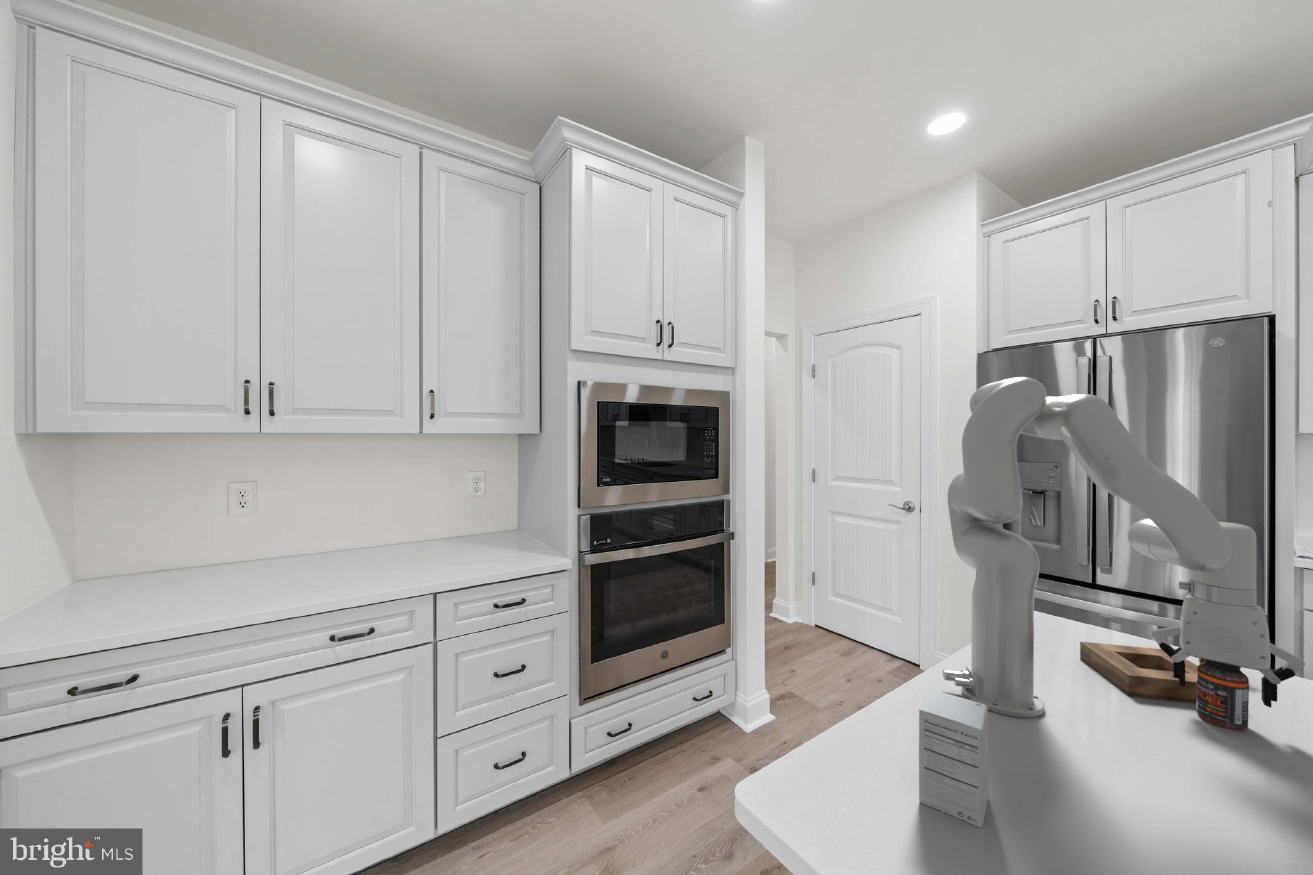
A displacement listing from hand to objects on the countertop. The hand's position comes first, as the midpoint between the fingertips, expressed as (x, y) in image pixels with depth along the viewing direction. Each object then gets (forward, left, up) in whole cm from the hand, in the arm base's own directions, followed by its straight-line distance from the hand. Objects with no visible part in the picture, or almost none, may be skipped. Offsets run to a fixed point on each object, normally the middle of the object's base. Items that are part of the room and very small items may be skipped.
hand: (1222, 693), depth 85 cm
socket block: (-2, +14, -5) cm, 15 cm away
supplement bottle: (0, 0, -5) cm, 5 cm away
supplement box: (-51, -33, -5) cm, 61 cm away
